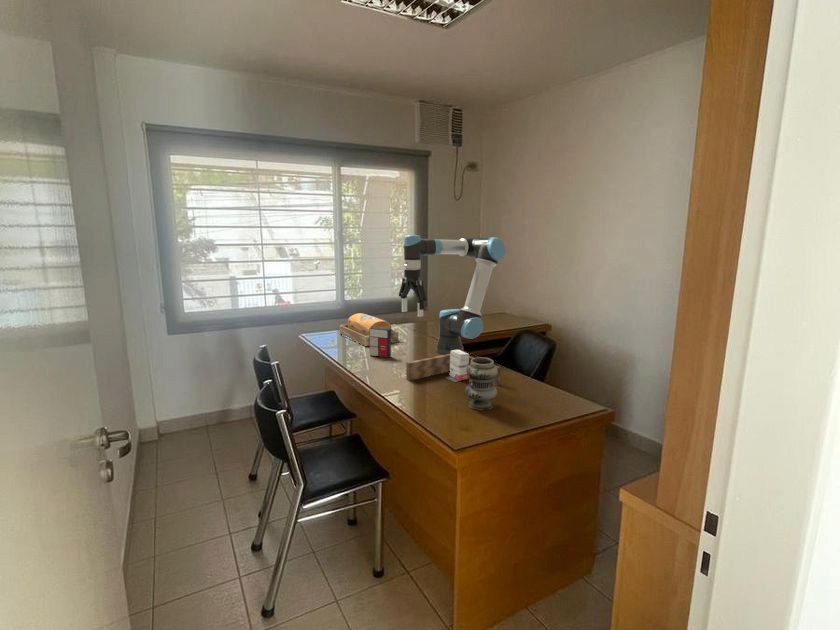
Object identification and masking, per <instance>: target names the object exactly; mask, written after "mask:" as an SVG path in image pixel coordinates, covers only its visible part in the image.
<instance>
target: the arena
mask: <svg viewBox="0 0 840 630" xmlns="http://www.w3.org/2000/svg"><path fill="white" fill-rule="evenodd" d="M473 358H475V357H473V356H470V355H469V365H470V363H471V360H472V359H473ZM405 363H406V374H405V375H406V378H405V379H406V380H407V381H408V382H409V381H410V382H411V381H414V379H415V380H419V379H423V378H427V377H432V376H436V374H437V375H440V373H441V374H445V373H449V372H448V371H450V354H441V355H436V356H431V357H427V358H422V359H417V360H412V361H411V360H410V361H407V362H405ZM494 366H495V367H496V368H497V370H498V373H497V375H496V376H495V377H494V386H495V387H496V386H500V384H501V383H500V382H501V381H500V380H501V366H499V365H496V364H494ZM444 372H445V373H444ZM431 375H432V376H431ZM444 379H446V380H449V381H450V380H451V382H452V381H453V382H452V383H458V381H459V380H457V379H456V378H454V377H452V376H450V375H449V376H445V377H444ZM467 380H469V375H468V379H465V380H464V381H467ZM459 382H462V380H460V381H459Z"/></svg>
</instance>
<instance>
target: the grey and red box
mask: <svg viewBox="0 0 840 630" xmlns="http://www.w3.org/2000/svg"><path fill="white" fill-rule="evenodd" d="M369 331H370V346H369V356H370V355H371V356H370V357H376V356H379V357H378V358H384V357H385V358H384V359H389V358H390V357H392V350H391V349H392V345H391V344H392V343H391V329H388V328H378V327H372V328H370V329H369Z"/></svg>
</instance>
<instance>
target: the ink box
mask: <svg viewBox="0 0 840 630" xmlns="http://www.w3.org/2000/svg"><path fill="white" fill-rule="evenodd" d="M469 356H470V354H469V353H467V352H465V351H464V350H463V351H461V350H451V352H450V372H449V376H452V377H454V378H456V379H457V380H459V382H461V381H460V380H463V381H466V380H465V379H467V380H469V379H468V374H467V372H466V368H467V366H468V365H469Z"/></svg>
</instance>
